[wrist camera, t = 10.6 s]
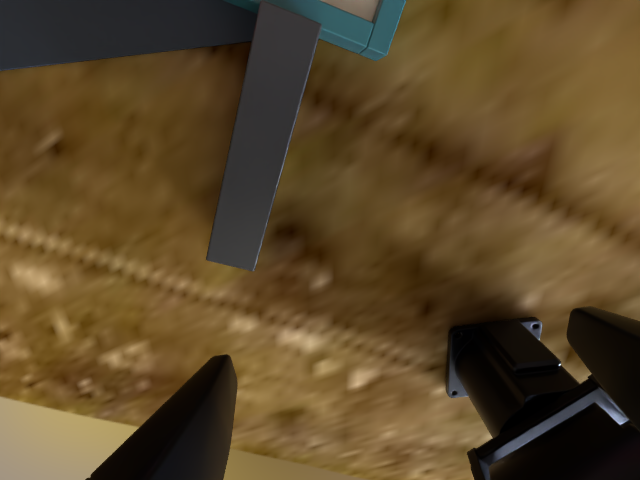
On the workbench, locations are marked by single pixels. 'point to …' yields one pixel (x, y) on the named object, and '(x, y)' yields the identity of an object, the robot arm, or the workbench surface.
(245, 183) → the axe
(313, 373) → the workbench surface
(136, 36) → the mat
